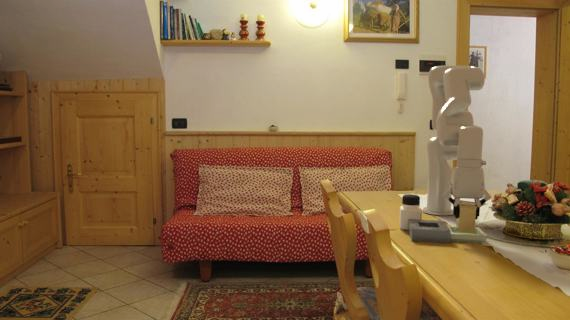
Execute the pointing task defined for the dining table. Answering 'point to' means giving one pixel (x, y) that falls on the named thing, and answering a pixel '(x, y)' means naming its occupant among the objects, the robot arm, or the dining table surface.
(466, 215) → the tan rectangular block
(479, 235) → the parts tray
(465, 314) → the dining table surface
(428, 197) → the robot arm
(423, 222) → the rail plate
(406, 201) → the medicine bottle
